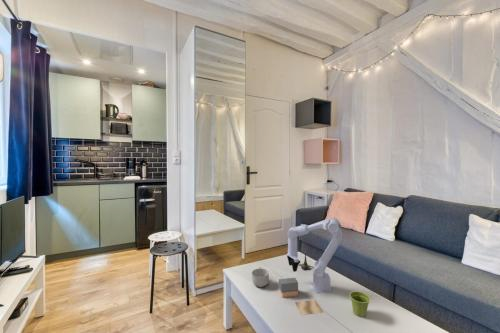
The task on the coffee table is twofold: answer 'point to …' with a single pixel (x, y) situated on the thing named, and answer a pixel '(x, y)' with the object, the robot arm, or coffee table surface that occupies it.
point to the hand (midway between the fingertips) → (292, 268)
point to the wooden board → (308, 307)
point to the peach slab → (289, 294)
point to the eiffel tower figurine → (305, 265)
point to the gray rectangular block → (288, 285)
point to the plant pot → (359, 303)
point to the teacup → (260, 277)
